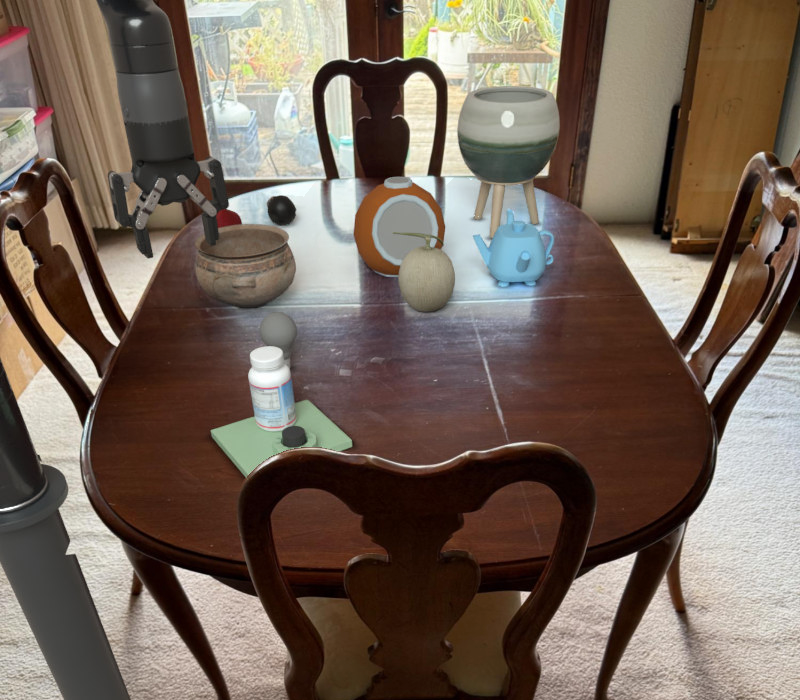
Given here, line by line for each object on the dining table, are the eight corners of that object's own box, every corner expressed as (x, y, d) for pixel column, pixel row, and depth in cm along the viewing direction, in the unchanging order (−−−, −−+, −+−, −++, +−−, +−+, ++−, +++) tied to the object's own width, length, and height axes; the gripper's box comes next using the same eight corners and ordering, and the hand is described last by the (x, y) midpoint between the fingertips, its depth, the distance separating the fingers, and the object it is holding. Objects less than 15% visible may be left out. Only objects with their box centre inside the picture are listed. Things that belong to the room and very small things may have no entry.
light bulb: (296, 379, 128) (289, 322, 122) (261, 377, 129) (252, 320, 123) (305, 362, 133) (299, 306, 127) (271, 360, 134) (263, 304, 127)
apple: (241, 249, 176) (235, 212, 171) (205, 249, 176) (199, 213, 171) (246, 237, 182) (241, 201, 177) (212, 238, 182) (206, 202, 177)
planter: (454, 212, 193) (457, 84, 175) (544, 211, 192) (556, 83, 174) (455, 243, 176) (459, 106, 158) (554, 243, 175) (569, 104, 157)
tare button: (289, 451, 107) (287, 440, 106) (279, 440, 109) (277, 430, 108) (310, 444, 109) (308, 433, 108) (299, 433, 111) (298, 423, 110)
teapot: (463, 278, 160) (465, 222, 153) (505, 260, 167) (509, 205, 160) (522, 299, 152) (527, 240, 144) (564, 279, 159) (570, 222, 152)
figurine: (265, 193, 182) (269, 181, 197) (262, 223, 185) (266, 209, 200) (298, 200, 183) (299, 188, 198) (294, 230, 186) (295, 215, 202)
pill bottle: (282, 407, 119) (273, 339, 112) (304, 423, 116) (296, 353, 108) (248, 421, 116) (236, 352, 109) (269, 438, 113) (259, 367, 105)
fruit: (466, 303, 151) (469, 223, 141) (434, 324, 143) (435, 242, 134) (421, 291, 155) (421, 214, 146) (388, 312, 148) (385, 232, 139)
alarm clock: (362, 286, 158) (357, 197, 147) (349, 255, 171) (344, 171, 160) (453, 277, 161) (456, 189, 150) (434, 248, 174) (435, 165, 163)
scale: (253, 487, 106) (250, 468, 104) (211, 437, 115) (208, 419, 113) (356, 450, 112) (354, 432, 110) (308, 405, 122) (306, 388, 120)
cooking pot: (209, 280, 162) (198, 220, 154) (300, 275, 163) (294, 215, 155) (195, 332, 143) (181, 266, 135) (298, 327, 144) (291, 261, 136)
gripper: (201, 100, 98) (220, 232, 108) (86, 114, 92) (118, 252, 102) (223, 111, 93) (241, 248, 103) (103, 126, 87) (135, 269, 97)
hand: (180, 250), depth 103 cm, fingers open, 8 cm apart
